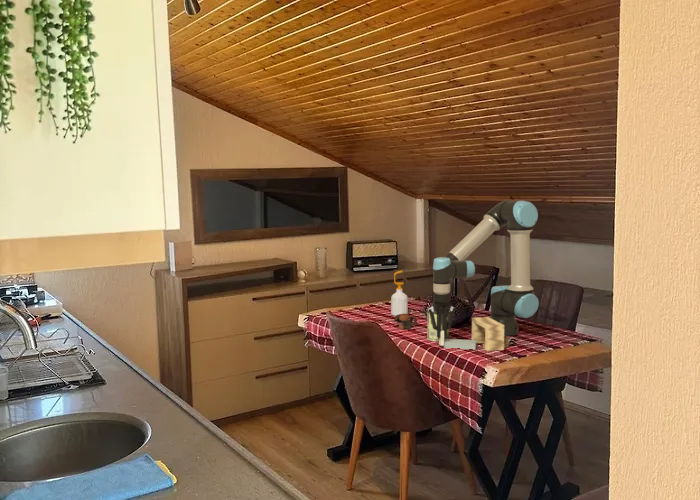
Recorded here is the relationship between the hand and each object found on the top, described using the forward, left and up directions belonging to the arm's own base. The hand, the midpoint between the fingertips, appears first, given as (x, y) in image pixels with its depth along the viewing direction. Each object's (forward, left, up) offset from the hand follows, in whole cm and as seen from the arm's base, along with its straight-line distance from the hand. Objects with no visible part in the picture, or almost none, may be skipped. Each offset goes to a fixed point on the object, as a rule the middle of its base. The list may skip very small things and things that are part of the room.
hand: (441, 344), depth 300 cm
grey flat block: (-9, 0, -2) cm, 9 cm away
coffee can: (-4, -16, -2) cm, 17 cm away
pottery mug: (+4, -43, -2) cm, 43 cm away
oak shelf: (-24, 0, -1) cm, 24 cm away
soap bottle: (-1, -74, -2) cm, 74 cm away
